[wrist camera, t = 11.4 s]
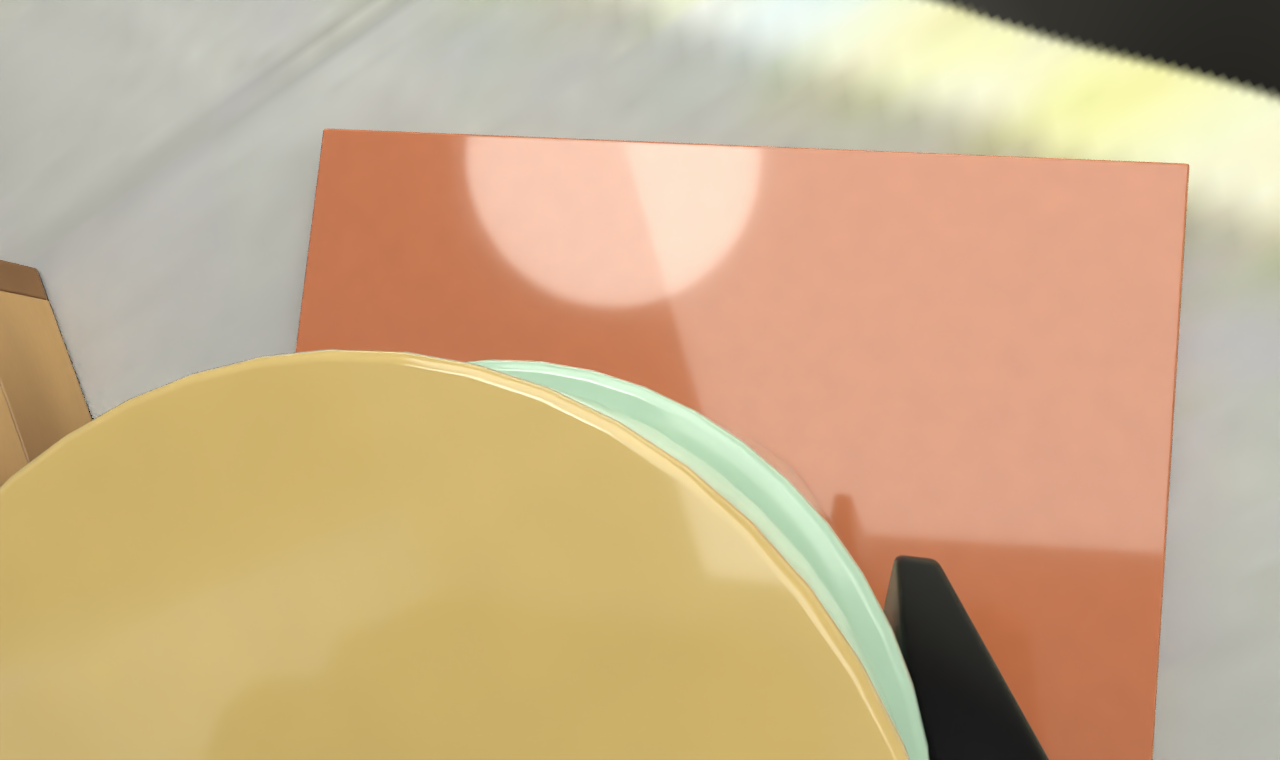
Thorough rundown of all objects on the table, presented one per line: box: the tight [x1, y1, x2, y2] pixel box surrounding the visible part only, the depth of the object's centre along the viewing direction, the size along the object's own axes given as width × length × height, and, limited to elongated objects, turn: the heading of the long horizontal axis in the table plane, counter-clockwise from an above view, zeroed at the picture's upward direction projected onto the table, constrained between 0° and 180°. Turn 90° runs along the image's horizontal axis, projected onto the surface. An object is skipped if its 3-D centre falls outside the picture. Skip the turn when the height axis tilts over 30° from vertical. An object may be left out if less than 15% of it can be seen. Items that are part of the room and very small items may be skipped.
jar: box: [0, 349, 930, 760], centre depth 10 cm, size 6×6×12 cm
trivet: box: [296, 129, 1189, 760], centre depth 16 cm, size 16×16×1 cm
